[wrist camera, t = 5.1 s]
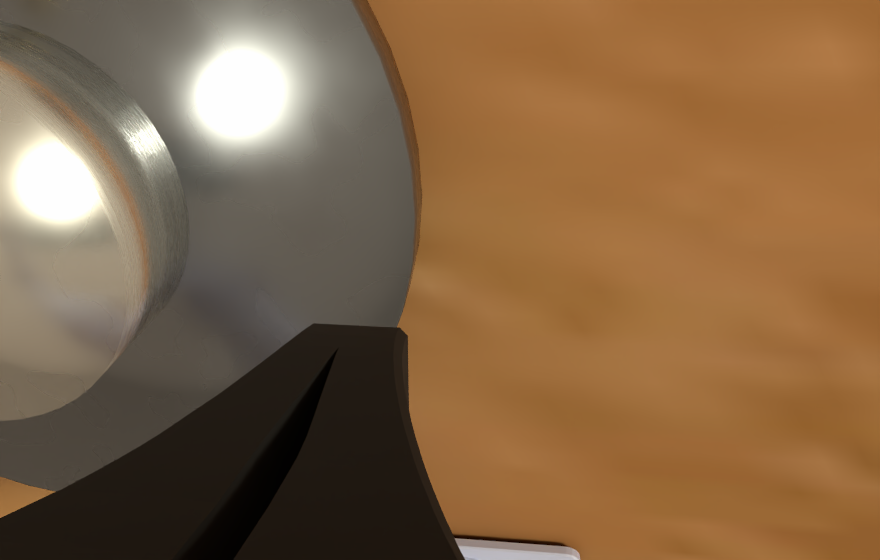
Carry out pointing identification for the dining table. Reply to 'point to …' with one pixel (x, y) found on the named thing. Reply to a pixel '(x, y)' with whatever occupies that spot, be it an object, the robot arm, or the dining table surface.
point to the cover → (77, 223)
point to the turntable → (240, 200)
